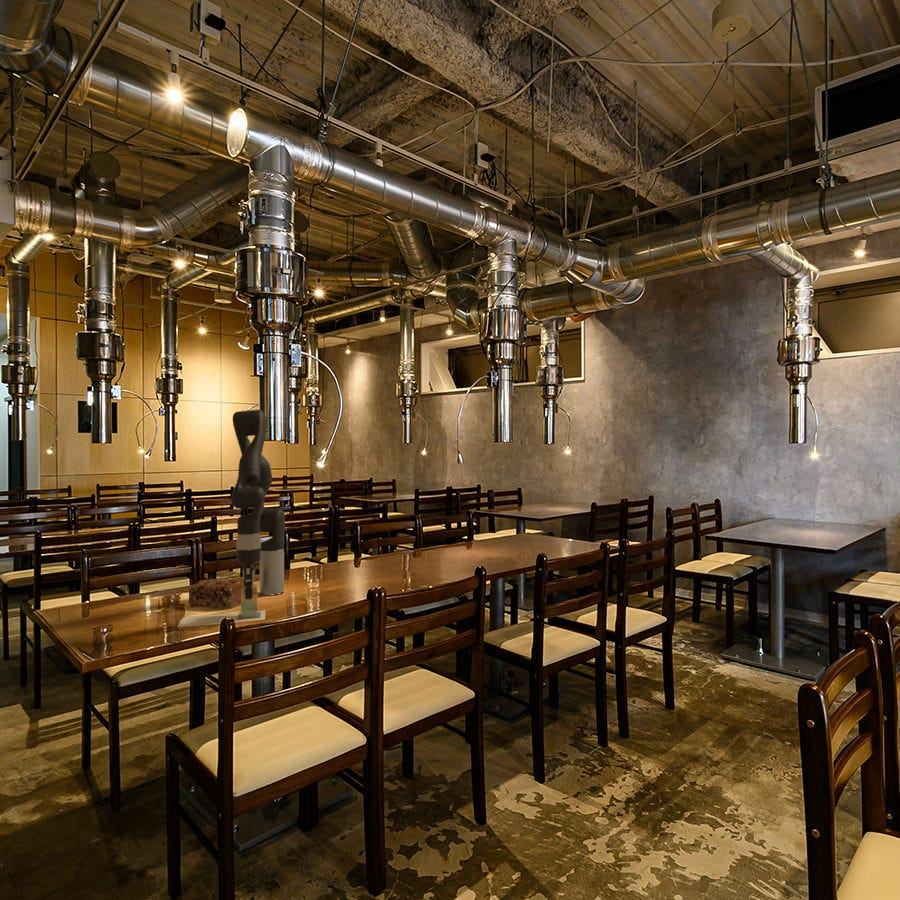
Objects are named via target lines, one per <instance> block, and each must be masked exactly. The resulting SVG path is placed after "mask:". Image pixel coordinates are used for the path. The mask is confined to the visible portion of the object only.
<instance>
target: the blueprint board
mask: <svg viewBox="0 0 900 900" xmlns="http://www.w3.org/2000/svg"><path fill="white" fill-rule="evenodd" d="M225 617H231V618H233V619H234V620H235V621H236V622H235V623H241V622H243V623H244V622H251V621H252V622H253V621H254V622H255V621H264V620H266V610H258V614H257V617H252V618H241V611H240V612H229V613H220V614H217V613H216V614H208V615H207V614H206V615H195V616H184V617H182V618H181V620H180V622H179V623H178V625H177V628H187V627H197V626H199V627H200V626H208V625H209V626H210V625H220V620H221V619H222V618H225Z"/></svg>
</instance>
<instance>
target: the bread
mask: <svg viewBox="0 0 900 900" xmlns="http://www.w3.org/2000/svg"><path fill="white" fill-rule="evenodd" d="M242 584H244V581H243V579H241V578H209V579H201V580H199V581H196V582H195V583H194V584H193V585H192V586H190V588H189V590H188V604H189V607H190V608H197V607H201V608H203V607H204V608H210V609H211V608H212V609H222V610H223V609H225V610H231V609H234V608H236V607H241V585H242Z"/></svg>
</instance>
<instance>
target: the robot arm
mask: <svg viewBox="0 0 900 900" xmlns="http://www.w3.org/2000/svg"><path fill="white" fill-rule="evenodd" d="M232 425H233V430H234V434H235V435H236V436H235V437H236V440H237V443H238V446H239V449H240V454H241V457H240V458H239V462H238V474H237V480H236V483H235V486H234V487H233V491H232V493H231V495H230V500H231V501H230V502H231V504H232V507H234V508H235V509H252V512H251V513H249V514H244V515H241V516H238V517H237V524H236V525H237V535H236V536H237V538H236V563H240V564H244V566H243V567H242V580H243V581H244V587H245V599H252V586H253V584H254V581H255V577H256V576H255V575H256V566H254V564H255V563H257V562H259V595H261V594H263V595H262V596H272V595H271V594H278V593H282V592H284V593H285V527H286V525H285V524H286V515H285V511H284V510H283V509H282V508H265V505H264V504H265V500H266V495H267V494H268V492H269V490H270V488H271V486H272V484H273V475H272V468H271V465H270V462H269V461H268V460H267V458H265V456H264V455H263V450H264V444H265V439H266V434H267V417H266V415H265V412H264V411H263V410H261V409H252V410H251V409H250V410H249V409H248V410H240V411H235V412H234V413H233V415H232ZM251 436H254V437H253V439H252V441H250V438H249V437H251ZM261 533H273V535H272V537H271V538H269V539H266V540H263V541H261ZM282 594H283V593H282ZM278 595H279V594H278Z"/></svg>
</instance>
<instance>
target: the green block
mask: <svg viewBox="0 0 900 900" xmlns="http://www.w3.org/2000/svg"><path fill="white" fill-rule="evenodd" d="M258 606H259V605H258V599H257V602H248V603H241V605H240V612H241V618H252V617H257V614H258V611H259V609H258Z"/></svg>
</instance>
